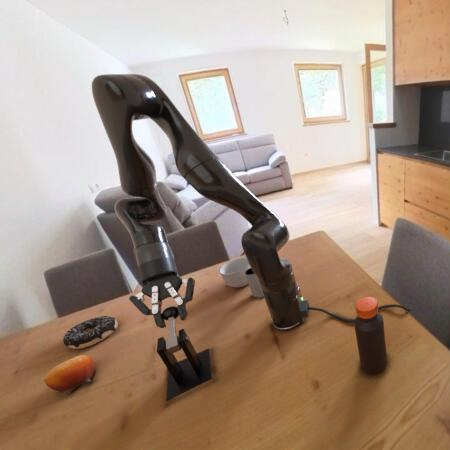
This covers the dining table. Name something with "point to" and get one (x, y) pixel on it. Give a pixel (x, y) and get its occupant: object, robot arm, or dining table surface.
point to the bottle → (370, 336)
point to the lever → (171, 329)
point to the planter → (254, 283)
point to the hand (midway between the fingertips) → (173, 323)
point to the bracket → (184, 366)
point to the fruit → (70, 374)
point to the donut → (90, 332)
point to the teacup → (235, 272)
